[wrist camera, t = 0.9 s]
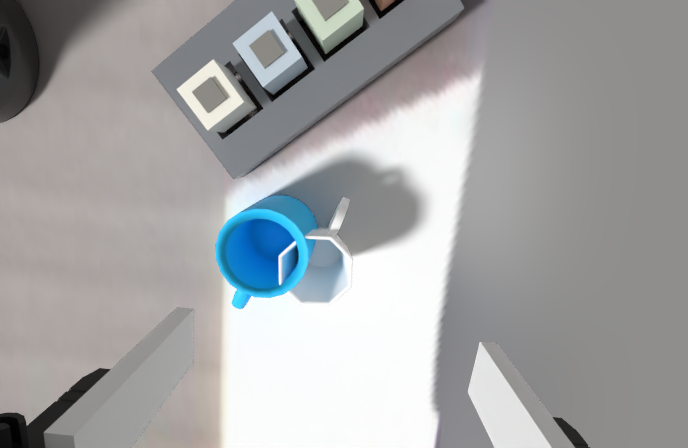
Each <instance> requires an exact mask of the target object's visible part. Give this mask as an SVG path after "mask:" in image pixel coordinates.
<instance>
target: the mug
mask: <svg viewBox="0 0 688 448" xmlns="http://www.w3.org/2000/svg"><path fill="white" fill-rule="evenodd" d="M317 228H318V227H317V224H316V221H315V217H314V215H313V214H312V213H311V211H310V210H309V208H308V207H307V206H306V205H304V204H303V203H302V202H301V201H299V200H298V199H295V198H292V197H290V196H285V195H274V196H270V197H267V198H264V199H262V200H260V201H259V202H257V203H255V204H253V205H252V206H250V207H248V208H247V209H245V210H243V211H241V212H240V213H238V214H237V215H235V216H234V217H232V218H231V219H229V220H228V221H227V222H226V224H225V225H224V226H223V228H222V229H221V231H220V232H219V235H218V238H217V242H216V245H215V247H216V260H217V263H218V266H219V268H220V271H221V273H222V274H223V276H224V277H225V278H226V279H227V281H228V282H229V283H230V284H231V285H232V286H234V287H235V288H236V289H237V291H236V293H235V295H234V298H233V301H232V304H233V306H234V307H236V308H238V309H242V308H244V306H245V305H246V304H247V302H248V300H249V299H250V297H251V296H254V297H265V298H271V297H275V296H279V295H283V294H285V293H286V292H288V291H289V290H291V289H293V288H294V287H295V286H296V285H297V284H298V283H299V281H300V280H301V279H302V278H303V276H304V274H305V271H306V268H307V265H308V263H309V260H310V257H311V254H312V252H313V249H314V246H315V243H316V239H305V235H306V234H308V233H309V232H310V231H312V230H316V229H317ZM294 241H296V244H297V247H298V251H299V258H298V260H297V262H296V264H295V266H294V267H293V269H292V270H291V272H290V273H289V274H288V276H287V277H286V279H285V280H284V282H283V283H282V284H281V285H279V255H280V254H281V253H282V252H283V251H284V250H285V249H286V248H288V247H289V246H290V245H291V244H292V243H293V242H294Z"/></svg>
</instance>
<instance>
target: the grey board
mask: <svg viewBox="0 0 688 448" xmlns="http://www.w3.org/2000/svg"><path fill="white" fill-rule="evenodd" d="M359 1H360V3H361V4H362V6H363V8H364V14H363V24H362V28H363V30H364V32H363V33H361V34H360V35H359V36H357V37H356V38H355V39H354V40H352V41H351V42H350V43H348V44H347V45H346V46H344V47H343V48H342V49H340V50H339V51H338V52H337V53H335V54H334V55H333V56H331V57H330V58H329V59H327V60H326V61H325V62H324V61H323V59H322V58H321V56H320V55H319V53H318V52H317V50H316V49H315V47H314V45H313V44H312V42H311V41H310V39H309V38H308V36H307V35H306V33H305V32H304V30H303V29H302V27H301V26H300V24H299V22H300V21H301V20H302V19H303V18H302V17H301V15H300V14H299V11H298V8H297V6H296V3H295V1H294V0H235V1H234V2H233V3H232V4H231V5H229V6H228V7H227V8H226V9H225V10H223V11H222V12H221V13H220V14H219V15H217V16H216V17H215V18H214V19H213V20H212V21H210V22H209V23H208V24H207V25H206V26H204V27H203V28H202V29H201V30H200V31H198V32H197V33H196V34H195V35H194V36H193V37H191V38H190V39H189V40H188V41H187V42H185V43H184V44H183V45H182V46H181V47H179V48H178V49H177V50H176V51H175V52H174V53H172V54H171V55H170V56H169V57H168V58H166V59H165V60H164V61H163V62H162V63H160V64H159V65H158V66H157V67H156V68H155V69H153V70H152V71H151V72H152V73H153V74H154V75H155V77H156V78H157V79H158V81H159V82H160V83H161V85H162V86H163V87H164V89H165V90H166V91H167V93H168V94H169V95H170V96H171V98H172V99H173V100H174V102H175V103H176V104H177V106H178V107H179V108H180V110H181V111H182V112H183V114H184V115H185V116H186V118H187V119H188V120H189V121H190V123H191V124H192V125H193V127H194V128H195V129H196V131H197V132H198V133H199V135H200V136H201V137H202V139H203V140H204V141H205V142H206V144H207V145H208V146H209V148H210V149H211V150H212V152H213V153H214V154H215V156H216V157H217V158H218V160H219V161H220V162H221V163H222V165H223V166H224V167H225V169H226V170H227V171H228V173H229V174H230V175H231V177H232V178H233V179H236V178H240V177H243V176H245V175H246V174H247V173H249V172H250V171H251V170H253V169H254V168H256V167H257V166H258V165H260V164H261V163H262V162H264V161H265V160H266V159H268V158H269V157H270V156H272V155H273V154H275V153H276V152H277V151H279V150H280V149H281V148H283V147H284V146H285V145H287V144H288V143H289V142H291V141H292V140H293V139H295V138H296V137H298V136H299V135H300V134H302V133H303V132H304V131H306V130H307V129H308V128H310V127H311V126H312V125H314V124H315V123H317V122H318V121H319V120H321V119H322V118H323V117H325V116H326V115H327V114H329V113H330V112H331V111H333V110H334V109H336V108H337V107H338V106H340V105H341V104H342V103H344V102H345V101H346V100H348V99H349V98H350V97H352V96H353V95H355V94H356V93H357V92H359V91H360V90H361V89H363V88H364V87H365V86H367V85H368V84H369V83H371V82H372V81H373V80H375V79H376V78H378V77H379V76H380V75H382V74H383V73H384V72H386V71H387V70H388V69H390V68H391V67H392V66H394V65H395V64H397V63H398V62H399V61H401V60H402V59H403V58H405V57H406V56H407V55H409V54H410V53H411V52H413V51H414V50H416V49H417V48H418V47H420V46H421V45H422V44H424V43H425V42H426V41H428V40H429V39H430V38H432V37H433V36H435V35H436V34H437V33H439V32H440V31H441V30H443V29H444V28H445V27H447V26H448V25H449V24H451V23H452V22H454V20H455V19H456V18H457V17H458V16H459V14H460V13H461V12H462V11H463V9H464V6H463V4H462V2H461V1H460V0H404V1H403V2H402V3H400V4H399V5H398V6H397V7H395V8H394V9H393V10H391V11H390V12H389V13H387V14H386V15H385V16H383V17H382V18H381V19H379V17H378V16H377V14H376V12H375V11H374V9H373V7H372V6H371V4H370V2H369V1H368V0H359ZM271 11H272V12H273V14H274V15H275V17H276V18H277V20H278V21H279V23H280V24H281V26H282V27H283V29H284V30H285V32H287V31H289V32H290V34H291V35H292V37H293V38H294V40H295V41H296V43H297V44H298V46H299V47H300V49H301V50H302V52H303V53H304V55H305V56H306V58H307V59H308V61H309V62H310V64H311V65H312V67H313V68H314V70H313V71H312V72H311V73H309V74H308V75H307V76H305V77H304V78H303V79H301V80H300V81H299V82H297V83H296V84H295V85H294V86H292V87H291V88H290V89H288V90H287V91H286V92H284V93H283V94H282V95H281V96H279V97H278V98H277V99H275V100H274V99H273V97H272V96H271V94H270V93H269V91H268V90H266V89H265V88H263V87H262V85H261V84H260V82H259V81H258V79H257V78H256V77H255V75H254V74H253V72H252V71H251V69H250V68H249V67H248V65H247V64H246V62H245V61H244V59H243V58H242V57H241V55H240V54H239V52H238V51H237V49H236V48H235V47H234V45H233V44H232V43H234V42H235V41H236V40H237V39H238V38H240V37H241V36H242V35H243V34H245V33H246V32H247V31H248V30H249V29H251V28H252V27H253V26H254V25H256V24H257V23H258V22H259V21H260V20H262V19H263V18H264V17H265V16H267V15H268V14H269V13H270V12H271ZM213 59H214V60H215V61H217V62H219V63H220V64H222V65H223V66H225V67H226V68H228V69H229V70H230V71H231V72H232V74H233V75H234V74H235V73H236V72H238V73H239V75H240V76H241V78H242V79H243V80H244V82H245V83H246V85H247V86H248V87H249V89H250V90H251V92H252V93H253V94H254V96H255V97H256V99H257V100H258V102H259V103H260V104H261V106H262V107H263V109H262V110H261V111H260V112H258V113H257V114H256V115H254V116H253V117H252V118H251V119H249V120H248V121H247V122H245V123H244V124H243V125H241V126H240V127H239V128H238V129H236V130H235V131H234V132H232V133H231V134H230V135H229V134H228V133H227V131H225V132H224V133H223V132H215V131H208V130H207V129H206V128H205V127H204V125H203V124H202V123H201V121H200V120H199V119H198V117H197V116H196V115H195V113H194V112H193V111H192V109H191V108H190V107H189V105H188V104H187V103H186V101H185V100H184V99H183V97H182V96H181V95H180V93H179V92H178V91H177V88H179V87H180V86H181V85H182V84H184V83H185V82H186V81H187V80H188V79H190V78H191V77H192V76H193V75H195V74H196V73H197V72H198V71H199V70H201V69H202V68H203V67H204V66H205V65H207V64H208V63H209V62H210V61H212V60H213Z"/></svg>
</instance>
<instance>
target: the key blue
mask: <svg viewBox="0 0 688 448" xmlns="http://www.w3.org/2000/svg"><path fill="white" fill-rule="evenodd" d="M232 44H233V45H234V47H235V48H236V49H237V51H238V52H239V54H240V55H241V57H242V58H243V59H244V61H245V62H246V64H247V65H248V67H249V68H250V69H251V71H252V72H253V74H254V75H255V77H256V78H257V79H258V81H259V82H260V84H261V85H262V87H263V88H265V89H266V90H268V91H269V92H271V93H272V94H275V93H276V92H277V91H279V90H280V89H281V88H282V87H284V86H285V85H286V84H288V83H289V82H290V81H292V80H293V79H294V78H295V77H297V76H298V75H299V74H301V73H302V72H303V71H305V70H306V69H307V68H308V67H307V65H306V63H305V61H304V60H303V58H302V56H301V54H300V53H299V51H298V50H297V48H296V47H295V45H294V44H293V42H292V41H291V39H290V38H289V36H288V35H287V33H286V32H285V30H284V29H283V27H282V26H281V24H280V23H279V21H278V20H277V18H276V17H275V15H274V14H273V12H272V11H271V12H270V13H269V14H268V15H267V16H265V17H264V18H263V19H262V20H260V21H259V22H258V23H257V24H256V25H254V26H253V27H252V28H251V29H249V30H248V31H247V32H246V33H245V34H243V35H242V36H241V37H240V38H238V39H237V40H236V41H235V42H234V43H232Z"/></svg>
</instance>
